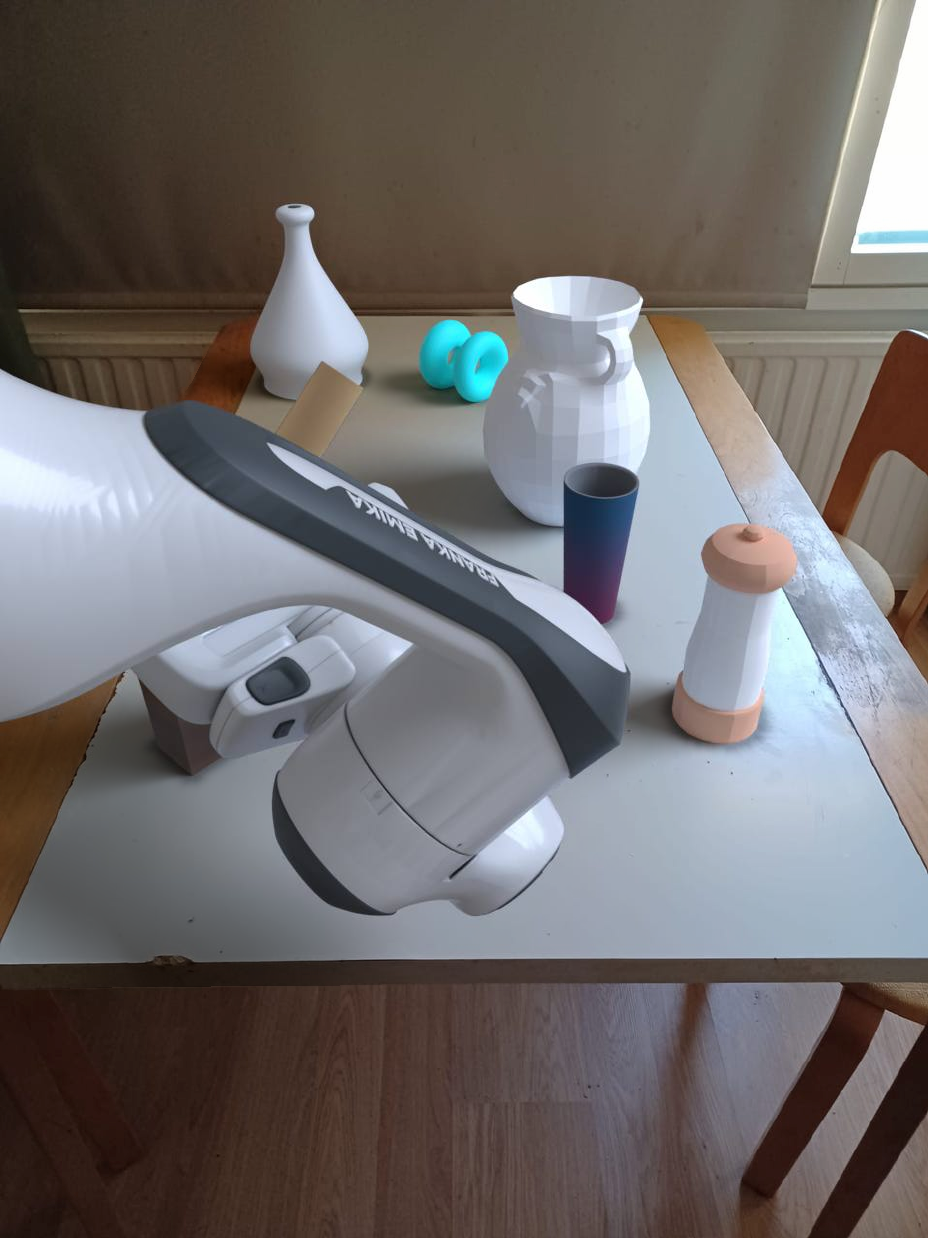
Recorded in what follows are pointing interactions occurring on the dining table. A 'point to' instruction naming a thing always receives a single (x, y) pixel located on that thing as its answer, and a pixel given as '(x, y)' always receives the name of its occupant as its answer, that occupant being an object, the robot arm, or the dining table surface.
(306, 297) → the vase
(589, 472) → the cup
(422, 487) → the dining table surface
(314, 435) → the scrub brush
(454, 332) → the donuts
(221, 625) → the robot arm
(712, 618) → the pepper shaker
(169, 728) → the shelf post
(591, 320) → the pitcher
